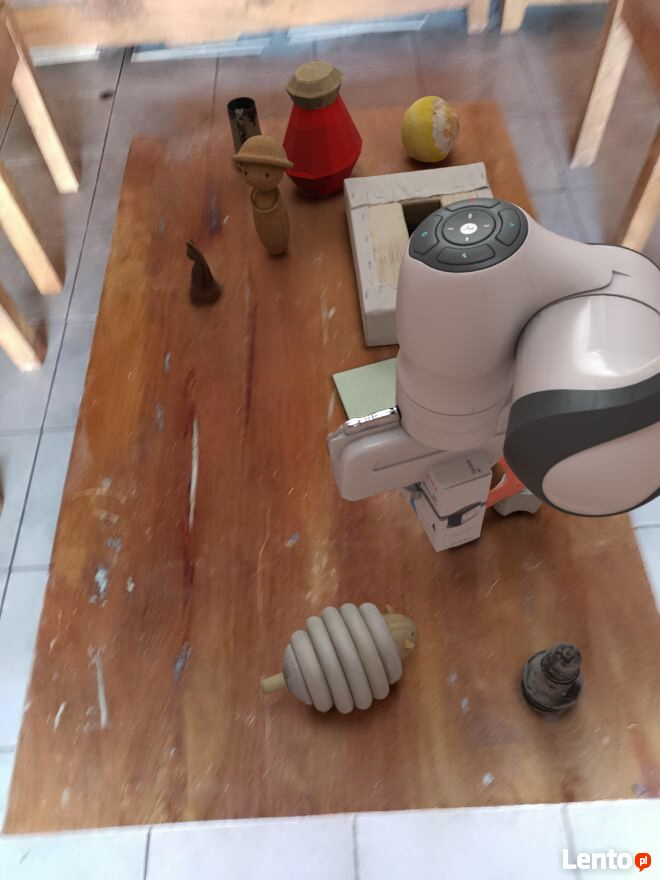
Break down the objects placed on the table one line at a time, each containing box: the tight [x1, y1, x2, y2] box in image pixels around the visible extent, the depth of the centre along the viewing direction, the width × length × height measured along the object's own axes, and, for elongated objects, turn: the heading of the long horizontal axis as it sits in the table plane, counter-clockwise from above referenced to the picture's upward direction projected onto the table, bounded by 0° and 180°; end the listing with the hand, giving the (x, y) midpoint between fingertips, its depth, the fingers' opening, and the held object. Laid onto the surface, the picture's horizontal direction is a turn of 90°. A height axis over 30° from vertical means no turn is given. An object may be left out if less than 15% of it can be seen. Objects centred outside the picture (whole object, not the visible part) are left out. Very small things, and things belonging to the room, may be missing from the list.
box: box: [343, 161, 494, 347], centre depth 109 cm, size 23×8×32 cm
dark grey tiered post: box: [520, 641, 584, 716], centre depth 70 cm, size 6×6×12 cm
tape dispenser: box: [452, 457, 543, 548], centre depth 88 cm, size 18×5×20 cm
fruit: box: [400, 95, 461, 163], centre depth 125 cm, size 10×11×10 cm
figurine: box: [230, 134, 293, 255], centre depth 109 cm, size 9×7×20 cm
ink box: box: [409, 451, 494, 553], centre depth 66 cm, size 8×5×12 cm, turn 20°
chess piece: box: [184, 239, 221, 305], centre depth 109 cm, size 5×5×10 cm
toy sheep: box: [259, 602, 420, 714], centre depth 72 cm, size 11×17×11 cm, turn 115°
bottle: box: [281, 60, 364, 199], centre depth 119 cm, size 16×14×20 cm
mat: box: [331, 356, 397, 420], centre depth 99 cm, size 14×10×1 cm
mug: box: [226, 96, 263, 170], centre depth 127 cm, size 8×6×12 cm
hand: (442, 485), depth 67 cm, fingers closed on ink box, 5 cm apart
